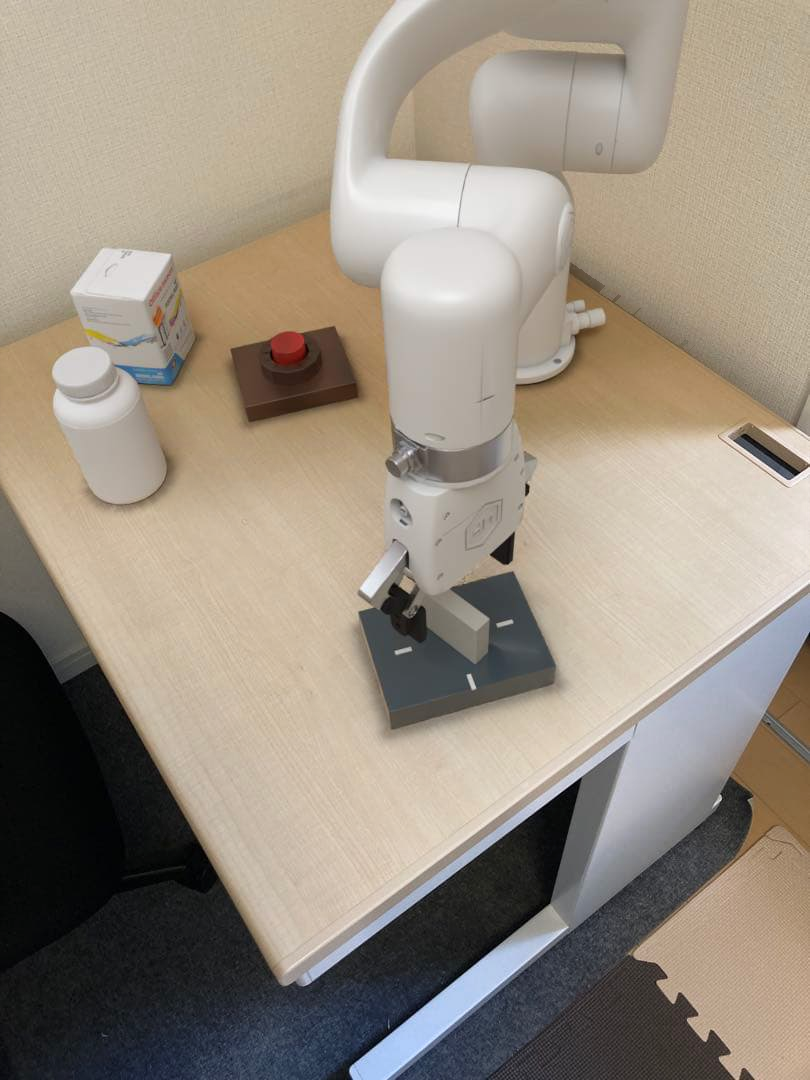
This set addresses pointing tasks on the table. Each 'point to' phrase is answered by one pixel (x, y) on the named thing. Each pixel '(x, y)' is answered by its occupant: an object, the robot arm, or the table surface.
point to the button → (288, 348)
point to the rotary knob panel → (459, 657)
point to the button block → (294, 376)
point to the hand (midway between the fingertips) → (453, 591)
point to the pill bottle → (107, 426)
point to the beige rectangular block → (458, 624)
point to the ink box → (135, 313)
